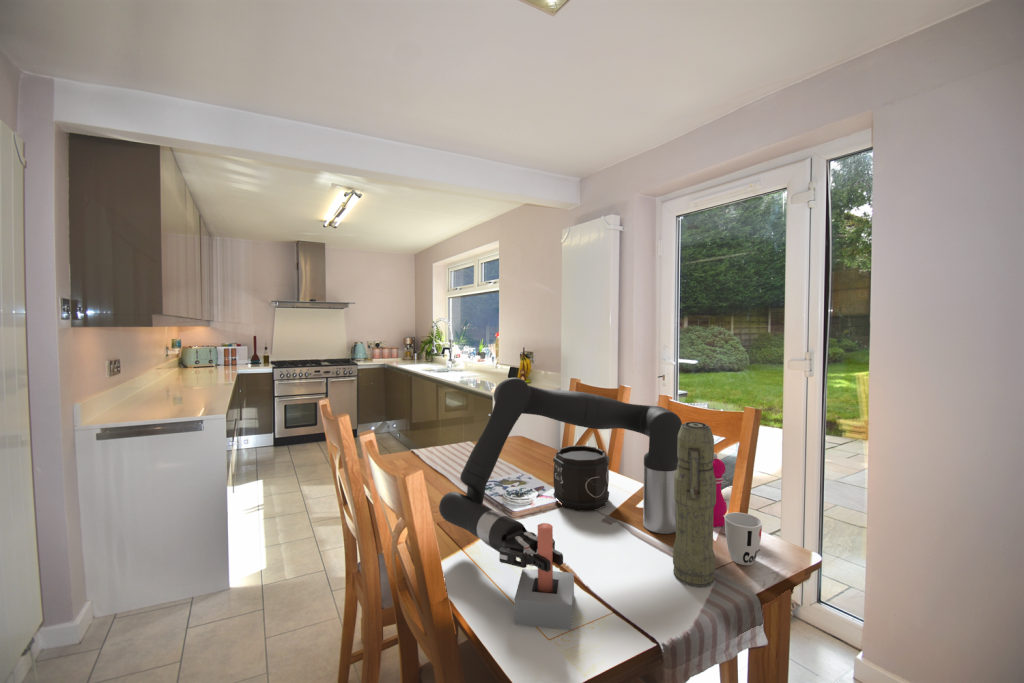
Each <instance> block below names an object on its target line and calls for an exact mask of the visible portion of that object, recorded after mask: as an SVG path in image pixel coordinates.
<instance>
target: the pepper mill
mask: <svg viewBox="0 0 1024 683" xmlns="http://www.w3.org/2000/svg"><path fill="white" fill-rule="evenodd" d="M713 467H714V475H715V478H716V504H715V506H714V510H713V528H719V527H725V515H726V514H727V512H728V506H727V501H726V500H725V497H724V495H723V491H722V483H723V482H724V476H723V475H724V474H725V473H726V465H725V463H724V461H722V460H721V459H719V458H718V454H717V453H716V452H714V461H713Z"/></svg>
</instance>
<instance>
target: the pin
mask: <svg viewBox="0 0 1024 683" xmlns="http://www.w3.org/2000/svg"><path fill="white" fill-rule="evenodd" d="M553 527H554V526H553V525H552V524H550V523H547V522H542V523H539V524H538V525H537V535H538V554H539V555H541V556H543V557H545V558H547V559H548V560H550V563H551V570H550V571H548V572H546V571H544V570H541V569H540V568H538V567H537V570H538V592H540V593H551V594H553V571H554V569H553V565H554V562H553V539H554V538H553V536H554V534H553V532H554V530H553V529H554V528H553Z"/></svg>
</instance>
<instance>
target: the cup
mask: <svg viewBox="0 0 1024 683" xmlns="http://www.w3.org/2000/svg"><path fill="white" fill-rule="evenodd" d="M724 517H725V524H724V530H725V533H724V534H725V540H726V546H727V550H728V553H729V556H730V559H731V560H732V561H733V563H735V564H738V565H742V566H752V565H754V563H755V561H756V559H757V557H758V554H759V549H760V544H761V541H762V540H761V539H762V531H763V530H762V528H763V521H762V520H761V519H760V518H759V517H757V516H754V515H752V514H750V513H747V512H746V513H744V512H737V511H736V512H728V513H726V514H725V515H724Z"/></svg>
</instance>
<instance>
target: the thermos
mask: <svg viewBox="0 0 1024 683" xmlns="http://www.w3.org/2000/svg"><path fill="white" fill-rule="evenodd" d="M714 453H715V438H714V434H713V431H712V428H711V426H709V425H708V424H706V423H704V422H699V421H687V422H685V423H682V425H681V428H680V430H679V433H678V445H677V457H678V463H677V469H676V472H675V475H674V500H675V502H676V532H675V540H674V544H673V547H672V565H673V572H672V573H673V576H674V578H675V579H676V580H677V581H678V582H679V583H682V584H683V585H687V586H690V587H695V588H706V587H710V586H711V585H713V584H714V581H715V571H716V554H715V552H714V527H713V510H714V506H715V504H716V478H715V475H714V467H713V461H714Z"/></svg>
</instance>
